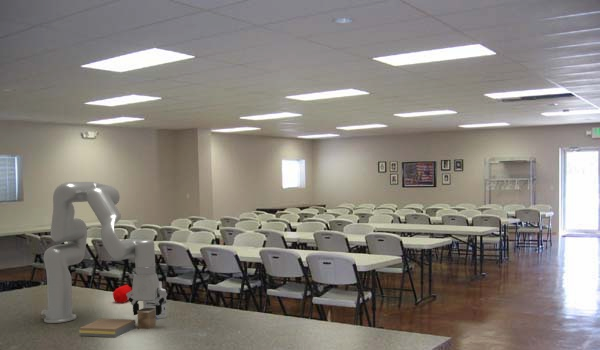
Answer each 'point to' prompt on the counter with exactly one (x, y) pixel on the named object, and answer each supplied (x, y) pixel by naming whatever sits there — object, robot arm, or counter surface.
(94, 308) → the counter surface
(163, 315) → the ink box
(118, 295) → the red animal figurine
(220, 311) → the counter surface
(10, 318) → the counter surface
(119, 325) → the dock
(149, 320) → the brown wooden block
